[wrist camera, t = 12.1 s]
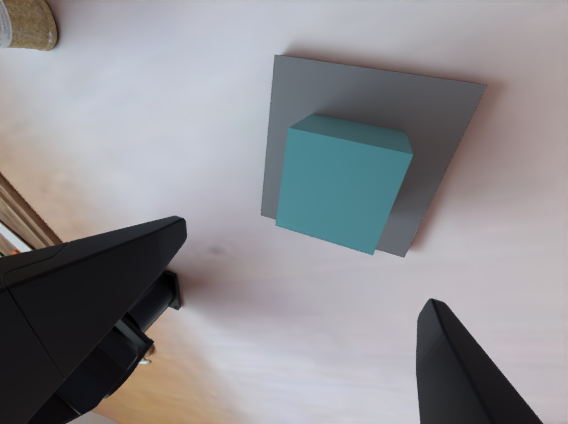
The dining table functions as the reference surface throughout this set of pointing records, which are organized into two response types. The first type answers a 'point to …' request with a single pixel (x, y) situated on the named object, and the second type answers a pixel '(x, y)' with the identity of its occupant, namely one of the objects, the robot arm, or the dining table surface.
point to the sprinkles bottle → (27, 25)
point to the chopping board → (25, 229)
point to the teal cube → (341, 180)
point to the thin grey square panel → (377, 112)
